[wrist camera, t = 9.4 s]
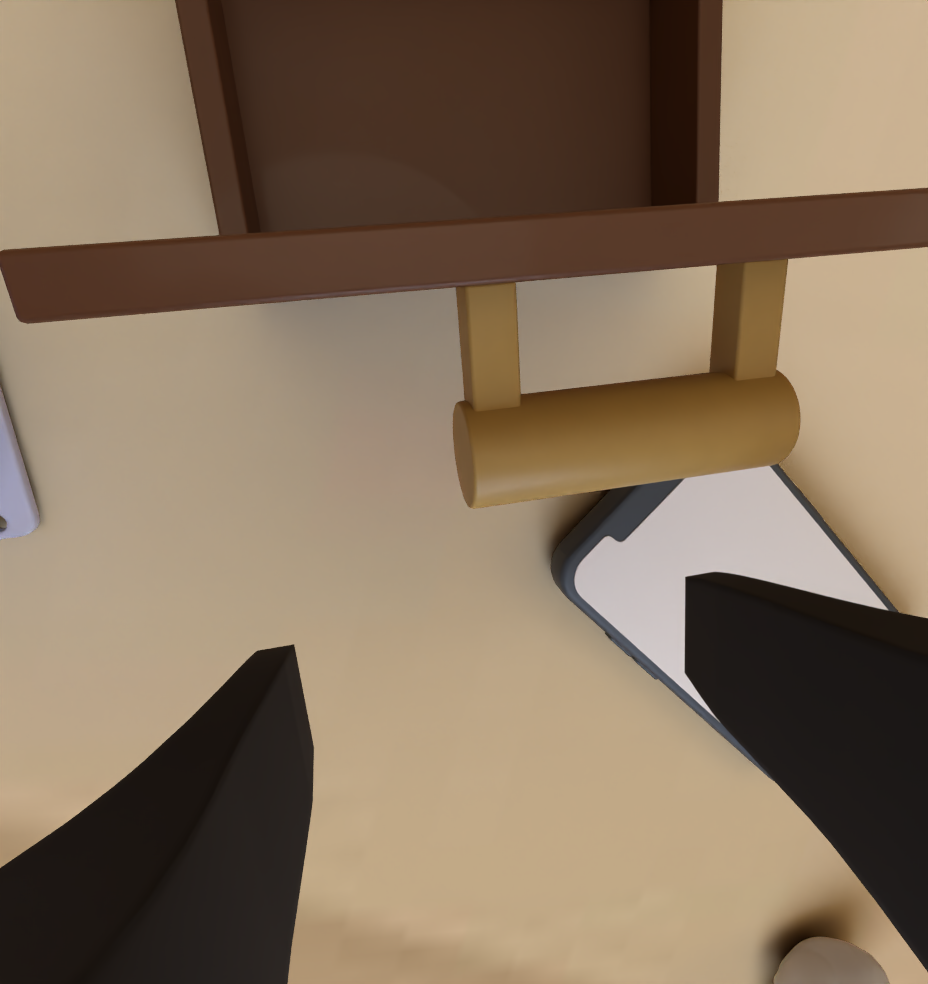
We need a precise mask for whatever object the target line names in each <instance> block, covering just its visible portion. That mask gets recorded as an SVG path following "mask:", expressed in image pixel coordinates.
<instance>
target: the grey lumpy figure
mask: <svg viewBox="0 0 928 984" xmlns="http://www.w3.org/2000/svg"><path fill="white" fill-rule="evenodd" d="M774 984H890V983H889V980H888V978H887V975H886V973H885V971H884V970H883V968H882V967H881V966H880V964H879V963H878V962H877V961H876V960H875V959H874V957H873V956H872V955H870V954H869V953H868V952H866V951H864V950H862V949H860V948H859V947H857V946H855V945H853V944H851V943H849V942H847V941H843V940H839V939H835V938H829V937H812V938H808V939H805V940H803V941H801V942H800V943H798V944H797V945H796V946H795V947H794V948H793V949H792V950H791V951H790V952H789V953H788V954H787V955H786V957H785V958H784V959H783V960H782V962H781V964H780V966H779V970H778V972H777V973H776V975H775V977H774Z"/></svg>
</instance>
